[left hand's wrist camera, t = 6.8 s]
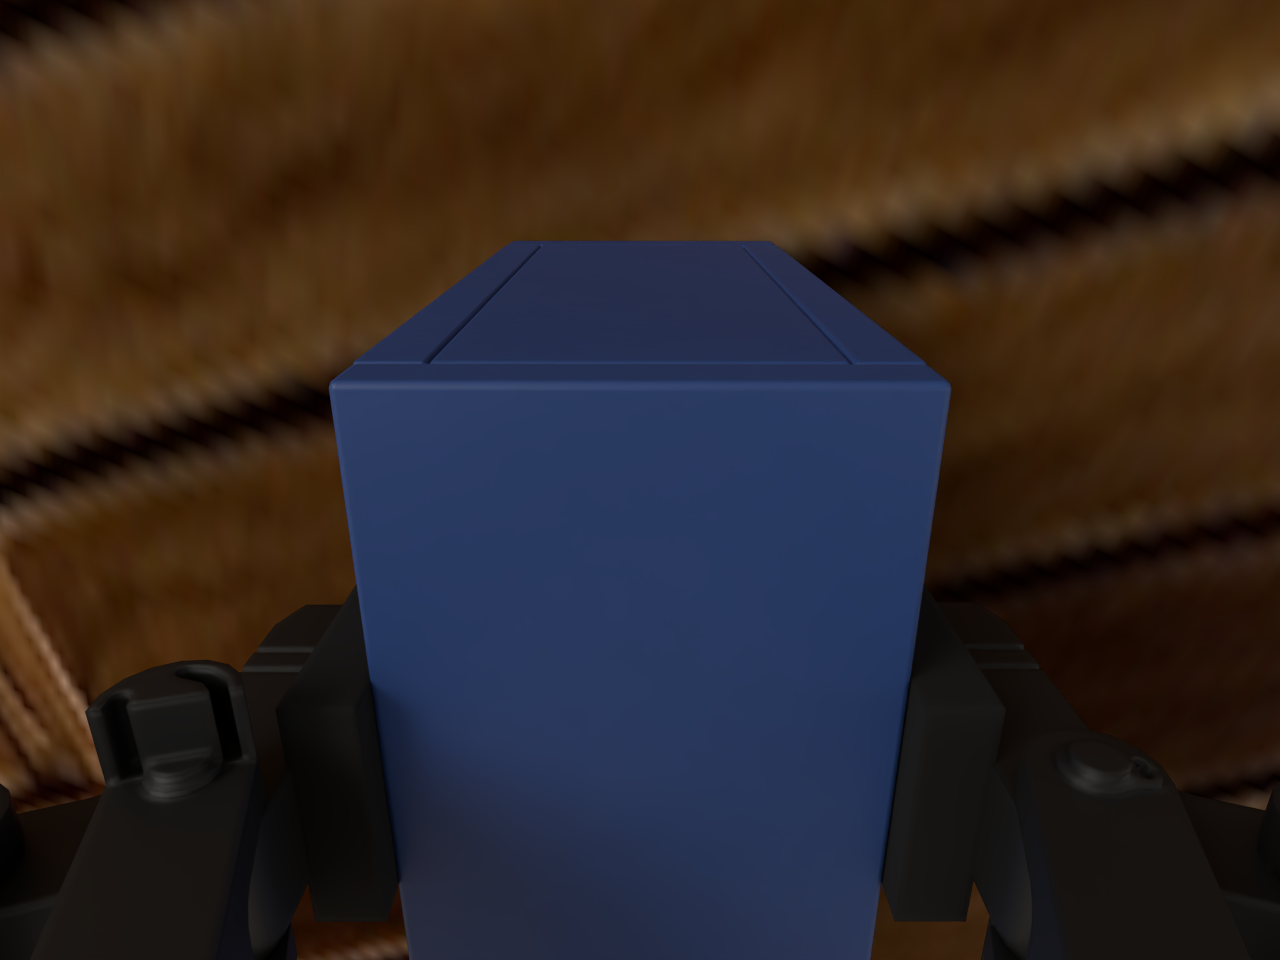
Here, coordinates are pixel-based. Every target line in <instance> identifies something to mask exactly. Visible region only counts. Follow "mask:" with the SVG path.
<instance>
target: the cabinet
mask: <svg viewBox="0 0 1280 960" xmlns="http://www.w3.org/2000/svg"><path fill="white" fill-rule="evenodd" d="M329 392H330V399H331V406H332V413H333V420H334V428H335V435H336V442H337V449H338V456H339V463H340V470H341V477H342V484H343V491H344V498H345V505H346V513H347V520H348V527H349V534H350V541H351V548H352V555H353V562H354V569H355V576H356V583H357V590H358V598H359V605H360V612H361V619H362V626H363V633H364V640H365V647H366V654H367V661H368V668H369V675H370V682H371V689H372V696H373V703H374V710H375V717H376V724H377V731H378V738H379V745H380V752H381V760H382V767H383V774H384V781H385V788H386V795H387V802H388V809H389V816H390V823H391V830H392V837H393V845H394V852H395V859H396V866H397V873H398V880H399V888H400V895H401V902H402V909H403V916H404V923H405V930H406V938H407V945H408V952H409V959H410V960H870V958H871V951H872V944H873V936H874V929H875V922H876V915H877V908H878V901H879V894H880V887H881V880H882V873H883V866H884V859H885V852H886V845H887V838H888V831H889V824H890V817H891V810H892V803H893V796H894V789H895V782H896V775H897V768H898V761H899V754H900V747H901V740H902V733H903V726H904V719H905V712H906V705H907V698H908V690H909V683H910V676H911V669H912V662H913V655H914V648H915V641H916V634H917V627H918V620H919V613H920V606H921V599H922V592H923V585H924V578H925V571H926V564H927V557H928V550H929V543H930V536H931V529H932V522H933V515H934V508H935V501H936V494H937V487H938V480H939V473H940V466H941V459H942V452H943V444H944V437H945V430H946V423H947V416H948V409H949V402H950V395H951V386H950V383H949V382H948V381H947V380H946V379H945V378H943V377H942V376H941V375H940V374H938V373H937V372H936V371H934V370H933V369H932V368H931V367H929V366H927V365H926V362H924V361H923V360H922V359H921V358H919V357H918V356H917V355H916V354H914V353H913V352H912V351H910V350H909V349H908V348H907V347H905V346H904V345H903V344H902V343H900V342H899V341H898V340H896V339H895V338H894V337H893V336H891V335H890V334H889V333H888V332H886V331H885V330H884V329H882V328H881V327H880V326H879V325H877V324H876V323H875V322H873V321H872V320H871V319H870V318H868V317H867V316H866V315H865V314H863V313H862V312H861V311H859V310H858V309H857V308H856V307H854V306H853V305H852V304H851V303H849V302H848V301H847V300H845V299H844V298H843V297H842V296H840V295H839V294H838V293H837V292H835V291H834V290H833V289H831V288H830V287H829V286H828V285H826V284H825V283H824V282H822V281H821V280H820V279H819V278H817V277H816V276H815V275H814V274H812V273H811V272H810V271H808V270H807V269H806V268H805V267H803V266H802V265H801V264H800V263H798V262H797V261H796V260H794V259H793V258H792V257H791V256H789V255H788V254H787V253H786V252H784V251H783V250H782V249H780V248H779V247H778V246H776V245H775V244H773V243H772V242H770V241H513V242H511V243H510V244H509V245H506V246H505V247H504V248H502V249H501V250H500V251H498V252H497V253H496V254H494V255H493V256H492V257H491V258H489V259H488V260H487V261H485V262H484V263H483V264H481V265H480V266H479V267H477V268H476V269H475V270H474V271H472V272H471V273H470V274H468V275H467V276H466V277H464V278H463V279H462V280H460V281H459V282H458V283H456V284H455V285H454V286H453V287H451V288H450V289H449V290H447V291H446V292H445V293H443V294H442V295H441V296H439V297H438V298H437V299H435V300H434V301H433V302H432V303H430V304H429V305H428V306H426V307H425V308H424V309H422V310H421V311H420V312H418V313H417V314H416V315H415V316H413V317H412V318H411V319H409V320H408V321H407V322H405V323H404V324H403V325H401V326H400V327H399V328H397V329H396V330H395V331H394V332H392V333H391V334H390V335H388V336H387V337H386V338H384V339H383V340H382V341H380V342H379V343H378V344H377V345H375V346H374V347H373V348H371V349H370V350H369V351H367V352H366V353H365V354H363V355H362V356H361V357H359V358H358V359H357V360H356V361H354V363H353V366H350V367H349V368H348V369H346V370H345V371H344V372H343V373H341V374H340V375H339V376H337V377H336V378H335V379H333V380H332V381H331V383H330V386H329Z"/></svg>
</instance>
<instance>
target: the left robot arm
mask: <svg viewBox="0 0 1280 960" xmlns="http://www.w3.org/2000/svg"><path fill="white" fill-rule="evenodd" d="M85 713H86V716H87V720H88V723H89V727H90V730H91V734H92V737H93V741H94V744H95V748H96V751H97V755H98V758H99V762H100V765H101V768H102V772H103V775H104V779H105V782H106V786H105V788H104V791H103V793H102V795H99V796H95V797H92V798H88V799H85V800H80V801H75V802H70V803H66V804H61V805H56V806H52V807H47V808H42V809H38V810H33V811H28V812H24V813H19V814H17V813H16V810H15V807H14V804H13V801H12V798H11V795H10V792H9V790H8V789H7V788H5V787H4V786H3V785H1V784H0V960H296V959H297V951H296V944H295V938H294V932H293V927H292V922H291V919H292V917H293V915H294V913H295V910H296V908H297V906H298V904H299V902H300V899H301V897H302V895H303V893H304V891H305V888H306V886H307V884H308V885H309V890H310V896H311V901H312V906H313V912H314V917H315V921H387V918H388V915H389V912H390V909H391V905H392V902H393V899H394V896H395V893H396V890H397V887H398V884H399V880H398V873H397V866H396V859H395V852H394V845H393V837H392V830H391V823H390V816H389V809H388V802H387V795H386V788H385V781H384V774H383V767H382V760H381V752H380V745H379V738H378V731H377V724H376V717H375V710H374V703H373V696H372V689H371V682H370V675H369V668H368V661H367V654H366V647H365V640H364V633H363V626H362V619H361V612H360V605H359V598H358V590H357V584H356V586H355V587H354V589H353V590H352V592H351V594H350V595H349V597H348V598H347V600H346V601H345V603H344V604H343V605H305V606H303V607H302V608H300V609H299V610H297V611H296V612H294V613H293V614H291V615H290V616H288V617H287V618H285V619H284V620H282V621H280V622H279V623H277V624H276V625H275V626H274V627H273V629H272V630H271V631H270V633H269V634H268V635H267V637H266V638H265V639H264V640H263V642H262V643H261V644H260V646H259V647H258V652H257V653H254V654H253V655H252V656H251V657H250V659H249V660H248V661H247V663H246V664H245V665H244V667H243V672H238V671H236V670H235V669H234V668H233V667H231V666H230V665H229V664H224V663H220V662H215V661H210V660H194V661H179V662H175V663H170V664H166V665H162V666H157V667H153V668H150V669H147V670H145V671H143V672H140V673H138V674H135V675H133V676H130V677H128V678H125V679H123V680H122V681H120V682H119V683H117V684H115V685H114V686H112V687H111V688H109V689H108V690H106V691H105V692H103V693H102V694H100V695H99V696H98V697H97V699H96V700H95V701H94V702H93V703H92V704H91V706H90V707H89V708H88V709H87V710H86V711H85ZM973 880H974V882H975V884H976V886H977V888H978V891H979V893H980V895H981V897H982V899H983V902H984V904H985V906H986V908H987V910H988V913H989V915H990V917H989V922H988V927H987V932H986V937H985V942H984V947H983V952H982V957H981V960H1280V782H1279V783H1278V784H1276V785H1275V786H1274V787H1273V790H1272V793H1271V796H1270V799H1269V802H1268V805H1267V808H1266V811H1265V810H1260V809H1256V808H1251V807H1246V806H1242V805H1237V804H1232V803H1227V802H1223V801H1218V800H1213V799H1209V798H1204V797H1199V796H1195V795H1192V794H1188V793H1185V792H1181V791H1177V789H1176V787H1175V785H1174V783H1173V781H1172V780H1171V779H1170V777H1169V776H1168V775H1167V773H1166V772H1165V770H1164V769H1163V768H1162V766H1161V765H1160V764H1158V763H1157V762H1156V761H1154V760H1153V759H1152V758H1150V757H1149V756H1148V755H1147V754H1145V753H1144V752H1143V751H1141V750H1140V749H1139V748H1136V747H1134V746H1132V745H1130V744H1128V743H1126V742H1124V741H1122V740H1120V739H1117V738H1115V737H1113V736H1111V735H1107V734H1103V733H1099V732H1095V731H1091V730H1089V729H1088V727H1087V726H1086V725H1085V724H1084V722H1083V721H1082V720H1081V718H1080V717H1079V716H1078V714H1077V713H1076V712H1075V711H1074V709H1073V708H1072V707H1071V705H1070V704H1069V703H1068V702H1067V700H1066V699H1065V698H1064V696H1063V695H1062V694H1061V692H1060V691H1059V690H1058V689H1057V687H1056V686H1055V685H1054V683H1053V682H1052V681H1051V679H1050V678H1049V677H1048V676H1047V674H1046V673H1045V672H1044V670H1043V669H1039V664H1038V663H1037V661H1036V660H1035V659H1034V657H1033V656H1032V655H1031V654H1030V652H1029V651H1028V650H1024V644H1023V643H1022V642H1021V641H1020V639H1019V638H1018V637H1017V635H1016V634H1015V633H1014V632H1013V630H1012V629H1011V628H1010V626H1009V625H1008V624H1007V622H1005V621H1004V620H1002V619H1001V618H999V617H998V616H996V615H995V614H993V613H992V612H990V611H988V610H987V609H985V608H984V607H982V606H981V605H979V604H978V603H976V602H936V601H935V599H934V598H933V596H932V595H931V593H930V592H929V590H928V589H927V587H926V586H925V584H924V585H923V592H922V599H921V606H920V613H919V620H918V627H917V634H916V641H915V648H914V655H913V662H912V669H911V676H910V683H909V690H908V698H907V705H906V712H905V719H904V726H903V733H902V740H901V747H900V754H899V761H898V768H897V775H896V782H895V789H894V796H893V803H892V810H891V817H890V824H889V831H888V838H887V845H886V852H885V859H884V866H883V873H882V880H881V881H882V884H883V887H884V890H885V893H886V896H887V899H888V902H889V905H890V908H891V911H892V915H893V918H894V921H966V917H967V912H968V906H969V901H970V896H971V890H972V885H973Z"/></svg>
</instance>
